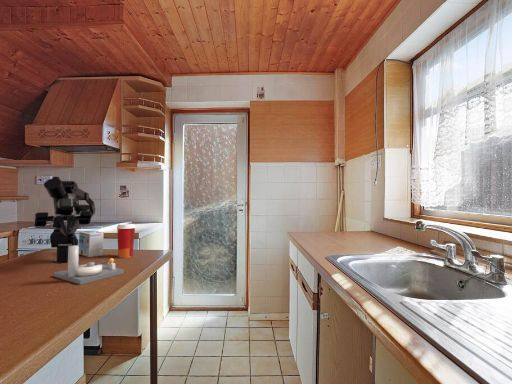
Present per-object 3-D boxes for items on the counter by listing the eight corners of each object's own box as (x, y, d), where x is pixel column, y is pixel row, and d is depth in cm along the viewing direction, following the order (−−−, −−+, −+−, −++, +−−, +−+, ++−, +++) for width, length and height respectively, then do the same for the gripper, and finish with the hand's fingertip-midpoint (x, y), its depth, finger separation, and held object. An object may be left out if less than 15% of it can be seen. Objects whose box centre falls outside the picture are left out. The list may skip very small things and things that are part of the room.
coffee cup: (128, 254, 143) (129, 223, 143) (138, 256, 138) (139, 224, 138) (111, 256, 137) (112, 224, 136) (121, 259, 132) (122, 225, 132)
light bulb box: (78, 254, 141) (78, 231, 141) (92, 251, 146) (93, 230, 146) (89, 257, 135) (89, 233, 135) (103, 255, 140) (104, 232, 140)
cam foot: (100, 266, 114) (101, 240, 114) (114, 269, 109) (115, 242, 109) (61, 274, 101) (61, 245, 101) (75, 279, 97) (76, 248, 97)
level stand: (54, 276, 104) (54, 261, 104) (97, 267, 118) (97, 254, 118) (80, 284, 97) (80, 268, 97) (123, 273, 111) (123, 259, 111)
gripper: (35, 190, 110) (38, 223, 102) (91, 191, 123) (98, 220, 114) (32, 210, 116) (35, 242, 108) (86, 209, 128) (92, 238, 120)
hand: (66, 235), depth 112 cm, fingers closed
